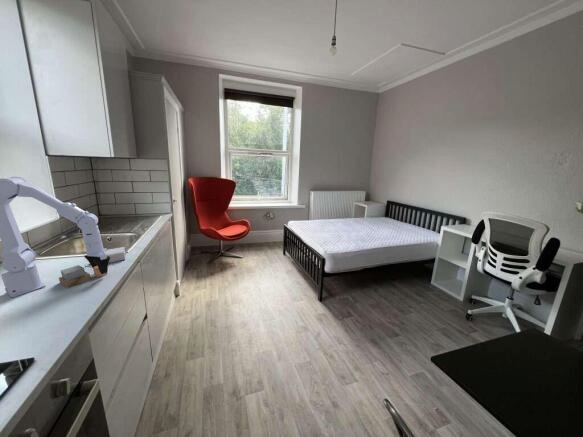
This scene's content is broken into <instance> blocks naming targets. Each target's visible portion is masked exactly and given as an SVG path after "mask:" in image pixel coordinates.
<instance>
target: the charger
mask: <svg viewBox="0 0 583 437" xmlns="http://www.w3.org/2000/svg"><path fill="white" fill-rule="evenodd" d="M105 254H106V257H107V256H109V257H110V260H109V263H108V264H110V263H116V262H120V261H121V262H122V261H126V259H127V258H126V257H127V255H126V254H127V253H126V248H125V246H122V247H116V248H111V249H107V251H105Z"/></svg>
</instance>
